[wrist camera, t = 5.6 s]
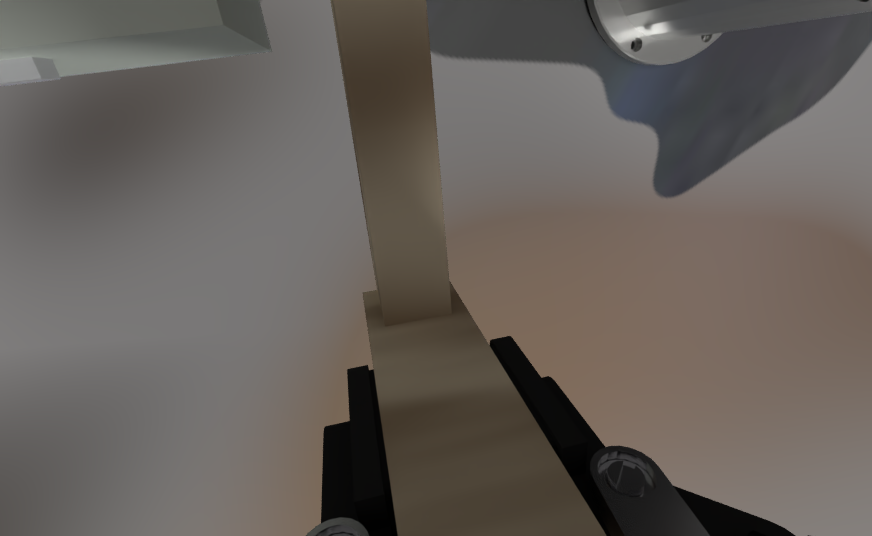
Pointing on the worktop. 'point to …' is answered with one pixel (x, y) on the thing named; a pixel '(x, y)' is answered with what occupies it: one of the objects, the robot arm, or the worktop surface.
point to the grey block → (121, 35)
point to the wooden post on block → (435, 313)
